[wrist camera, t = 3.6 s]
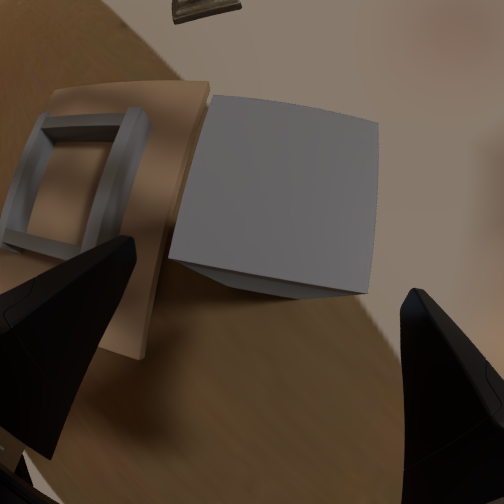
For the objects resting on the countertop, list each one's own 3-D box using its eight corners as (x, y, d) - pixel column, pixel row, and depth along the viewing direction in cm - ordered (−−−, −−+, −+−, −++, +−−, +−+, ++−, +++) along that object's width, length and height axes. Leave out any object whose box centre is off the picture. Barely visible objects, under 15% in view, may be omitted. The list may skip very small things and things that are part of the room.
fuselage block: (299, 299, 18) (367, 293, 6) (228, 286, 18) (168, 257, 6) (311, 229, 19) (378, 122, 7) (242, 217, 19) (213, 94, 7)
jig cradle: (144, 357, 18) (121, 367, 14) (-5, 297, 19) (-33, 294, 15) (210, 89, 21) (203, 59, 17) (59, 95, 22) (42, 75, 18)
